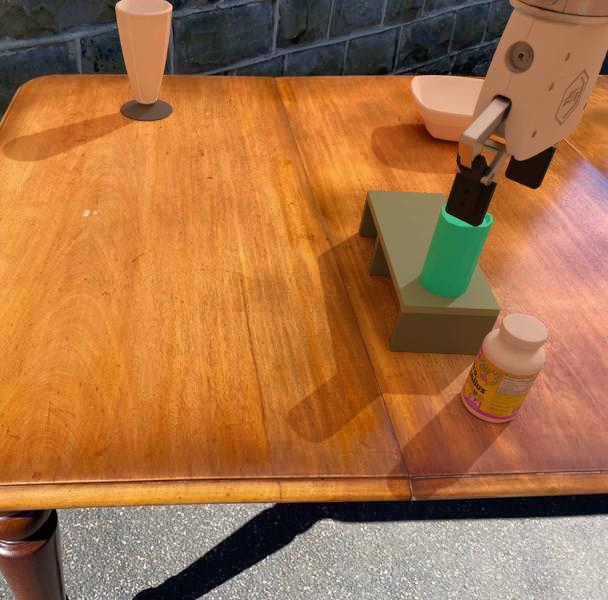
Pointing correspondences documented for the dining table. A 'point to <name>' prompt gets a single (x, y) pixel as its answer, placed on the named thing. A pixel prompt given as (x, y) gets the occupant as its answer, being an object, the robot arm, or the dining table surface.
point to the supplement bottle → (505, 368)
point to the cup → (144, 54)
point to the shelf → (406, 277)
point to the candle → (453, 255)
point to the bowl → (446, 103)
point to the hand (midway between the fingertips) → (493, 199)
